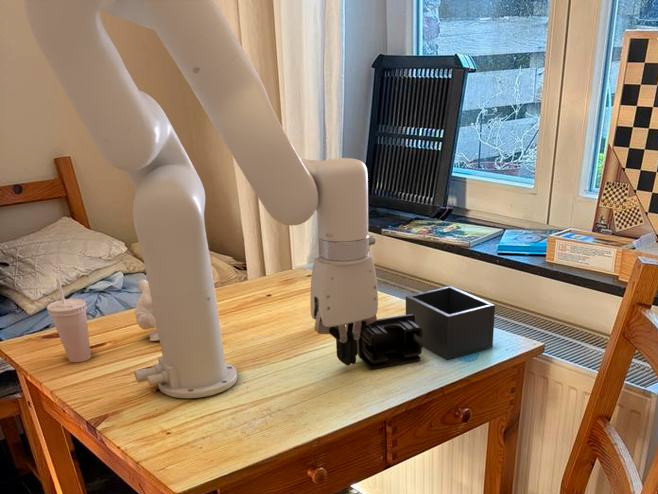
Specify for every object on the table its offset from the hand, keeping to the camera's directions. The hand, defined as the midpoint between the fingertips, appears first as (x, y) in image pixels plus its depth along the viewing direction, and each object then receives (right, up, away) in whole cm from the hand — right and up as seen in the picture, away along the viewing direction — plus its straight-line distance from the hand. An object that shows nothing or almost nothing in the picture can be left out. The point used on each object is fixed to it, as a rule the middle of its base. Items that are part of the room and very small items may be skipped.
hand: (347, 361), depth 123 cm
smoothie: (-47, +2, +9) cm, 48 cm away
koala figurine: (-35, +7, +16) cm, 39 cm away
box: (+18, +5, +9) cm, 20 cm away
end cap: (+7, +1, +4) cm, 8 cm away
